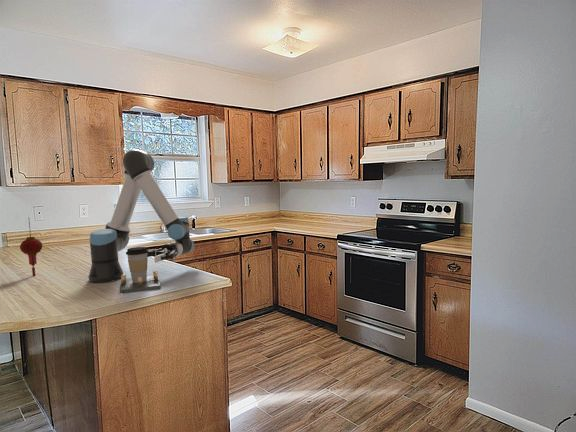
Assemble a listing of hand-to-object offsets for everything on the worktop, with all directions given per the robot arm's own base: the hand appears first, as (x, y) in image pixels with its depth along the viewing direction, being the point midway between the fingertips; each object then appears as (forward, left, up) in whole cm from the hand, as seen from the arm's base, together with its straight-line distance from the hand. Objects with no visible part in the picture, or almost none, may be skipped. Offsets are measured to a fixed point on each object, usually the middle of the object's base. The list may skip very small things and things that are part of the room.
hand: (142, 258), depth 170 cm
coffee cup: (0, -2, -10) cm, 10 cm away
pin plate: (+1, -2, -12) cm, 12 cm away
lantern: (-45, -52, -12) cm, 69 cm away
